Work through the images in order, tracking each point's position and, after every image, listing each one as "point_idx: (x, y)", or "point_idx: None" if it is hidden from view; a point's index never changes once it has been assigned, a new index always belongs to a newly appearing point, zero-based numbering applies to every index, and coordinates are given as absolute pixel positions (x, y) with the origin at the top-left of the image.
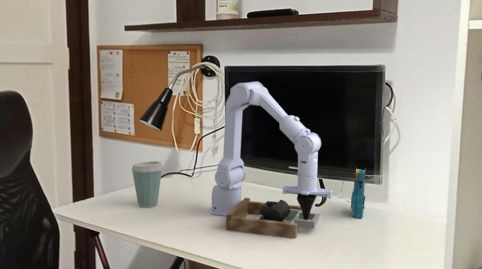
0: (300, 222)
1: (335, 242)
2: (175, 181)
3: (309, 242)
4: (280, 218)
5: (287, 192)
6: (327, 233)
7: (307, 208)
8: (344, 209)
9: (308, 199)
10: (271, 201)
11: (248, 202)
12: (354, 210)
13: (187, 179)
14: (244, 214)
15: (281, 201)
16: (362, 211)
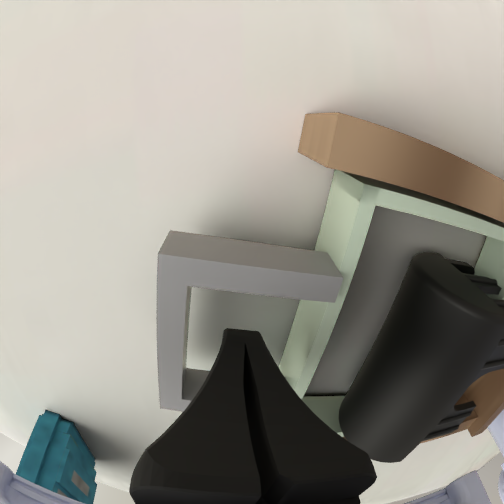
0: (285, 261)
1: (47, 112)
2: (492, 452)
3: (202, 61)
4: (436, 279)
5: (441, 498)
6: (102, 250)
7: (229, 394)
8: (124, 466)
9: (214, 482)
10: (443, 433)
11: (477, 417)
12: (59, 440)
13: (473, 467)
14: None
15: (404, 448)
16: (33, 429)
